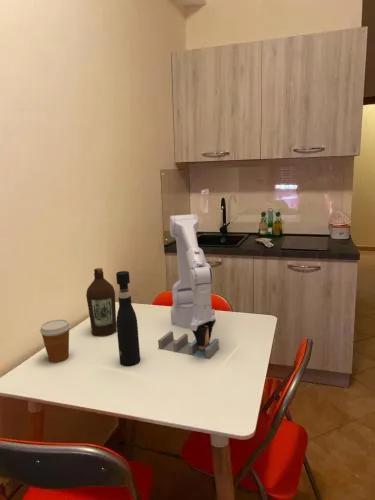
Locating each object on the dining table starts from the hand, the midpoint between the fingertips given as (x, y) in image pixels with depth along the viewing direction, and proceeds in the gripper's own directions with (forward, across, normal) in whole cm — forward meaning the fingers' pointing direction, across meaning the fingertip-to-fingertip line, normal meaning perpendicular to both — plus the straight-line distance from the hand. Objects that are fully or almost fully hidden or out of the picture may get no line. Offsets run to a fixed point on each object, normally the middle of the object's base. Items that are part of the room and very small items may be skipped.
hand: (203, 343), depth 122 cm
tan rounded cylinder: (+1, 0, 0) cm, 1 cm away
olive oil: (+4, +2, +44) cm, 44 cm away
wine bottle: (+4, -15, +19) cm, 24 cm away
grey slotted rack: (+4, 0, +6) cm, 7 cm away
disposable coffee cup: (+4, -21, +44) cm, 49 cm away
